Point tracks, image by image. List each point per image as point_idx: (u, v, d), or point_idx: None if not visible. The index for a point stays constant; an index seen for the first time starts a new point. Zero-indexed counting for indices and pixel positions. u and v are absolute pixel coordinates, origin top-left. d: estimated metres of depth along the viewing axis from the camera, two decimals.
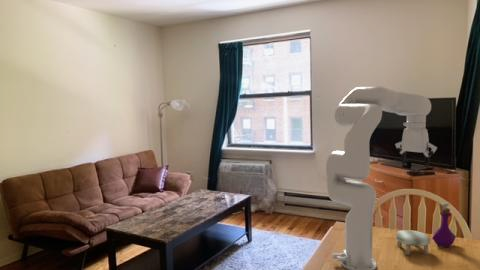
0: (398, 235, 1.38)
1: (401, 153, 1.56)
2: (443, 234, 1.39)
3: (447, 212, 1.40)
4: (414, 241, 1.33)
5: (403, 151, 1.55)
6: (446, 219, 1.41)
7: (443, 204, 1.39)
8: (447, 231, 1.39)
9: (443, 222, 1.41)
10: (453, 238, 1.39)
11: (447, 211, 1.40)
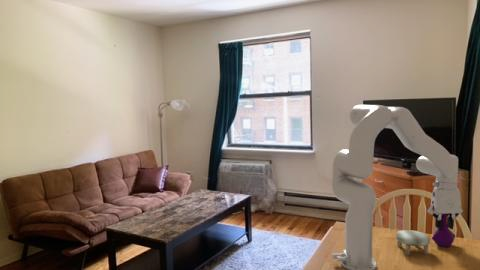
0: (398, 235, 1.38)
1: (439, 219, 1.40)
2: (442, 234, 1.39)
3: None
4: (414, 241, 1.33)
5: (440, 216, 1.39)
6: (445, 219, 1.41)
7: None
8: (446, 231, 1.39)
9: (442, 222, 1.41)
10: (453, 237, 1.39)
11: None
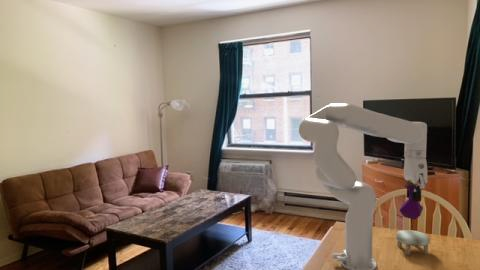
0: (398, 235, 1.38)
1: None
2: (419, 205, 1.35)
3: None
4: (414, 241, 1.33)
5: None
6: None
7: None
8: (417, 201, 1.36)
9: None
10: None
11: None
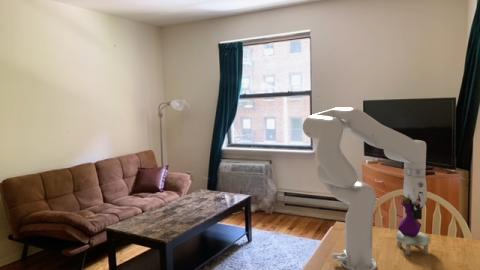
0: (398, 235, 1.38)
1: None
2: (417, 223, 1.36)
3: None
4: (414, 241, 1.33)
5: None
6: None
7: None
8: None
9: (411, 212, 1.36)
10: None
11: None
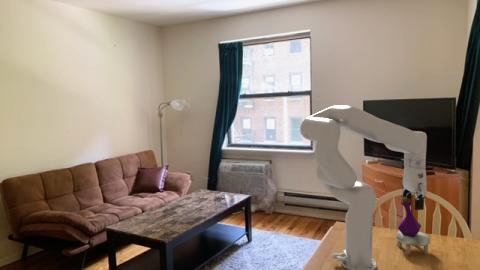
0: (398, 235, 1.38)
1: None
2: (416, 222, 1.37)
3: None
4: (414, 241, 1.33)
5: None
6: None
7: None
8: (414, 218, 1.38)
9: (410, 212, 1.37)
10: None
11: None
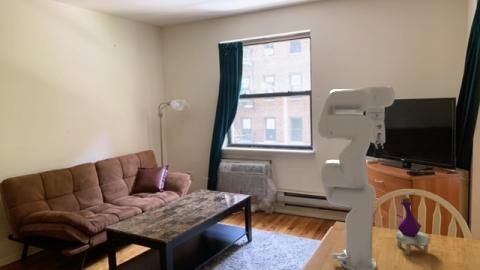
0: (398, 235, 1.38)
1: None
2: (416, 222, 1.37)
3: None
4: (414, 241, 1.33)
5: None
6: None
7: (414, 193, 1.36)
8: (414, 218, 1.38)
9: (410, 212, 1.37)
10: None
11: None
